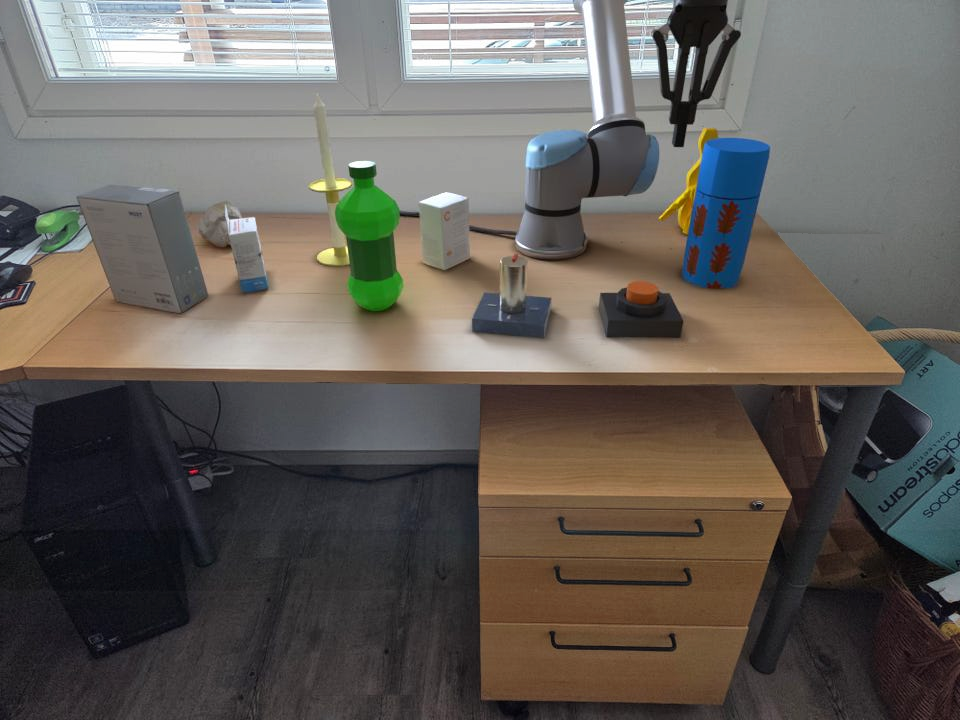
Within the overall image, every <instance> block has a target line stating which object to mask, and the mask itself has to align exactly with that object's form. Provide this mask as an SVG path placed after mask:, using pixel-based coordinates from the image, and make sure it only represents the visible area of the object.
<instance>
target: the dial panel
mask: <svg viewBox="0 0 960 720" xmlns="http://www.w3.org/2000/svg"><path fill="white" fill-rule="evenodd" d="M551 310H552V297H546V296H545V297H544V296H534V295H526V309H525V310H524V311H523V312H520V313H506V312H504V311H502V310H501V309H500V292H489V291H488V292H486V291H484V292H483V293H482V296H481V298H480V300H479V302H478V304H477V307H476V309H475V311H474V313H473V316H472V317H471V331H472V332H473V333H485V334H494V335H505V336H514V337H527V338H535V339H536V338H537V339H545V335H546V330H547V327H548V323H549V320H550V319H549V318H550V315H551Z"/></svg>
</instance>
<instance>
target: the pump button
mask: <svg viewBox="0 0 960 720" xmlns="http://www.w3.org/2000/svg"><path fill="white" fill-rule="evenodd" d="M626 287H627V293H626V299H627V300H629V301H630V302H633V303H637V304H652V303H655V302H656V301H657V296H658V291H660V290H659V286H658V285H656V284H655V283H653V282H651V281H645V280H635V281H631V282H629V283H628V284H627V286H626Z"/></svg>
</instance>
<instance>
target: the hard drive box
mask: <svg viewBox="0 0 960 720" xmlns="http://www.w3.org/2000/svg"><path fill="white" fill-rule="evenodd" d="M76 200H77V202H78V205H79V208H80V211H81V213H82V216H83V218H84V222H85V224H86V226H87V229H88V232H89V234H90V238H91V240H92V243H93V245H94V248H95V251H96V253H97V256H98V258H99V261H100V264H101V267H102V269H103V272H104V274H105V277H106V280H107V282H108V285H109V288H110V290H111V294H112V296H113V298H114V301H115V302H117V303H122V304H126V305H131V306H138V307H142V308H143V307H144V308H149V309H153V310H154V309H156V310H159V311H163V312H171V313H176V314H181V313H184V312H185V311H186V310H188V309H190V308H191V307H193V306H195V305H196V304H197V303H200V302H201V301H203V300H205V299H206V298H208V297H209V291H208V287H207V286H206V282H205V277H204V274H203V270H202V268H201V264H200V259H199V257H198V253H197V249H196V246H195V243H194V239H193V236H192V232H191V229H190V225H189V222H188V218H187V214H186V211H185V208H184V205H183V200H182V197H181V194H180V190H176V189H172V190H171V189H167V188H166V189H165V188H156V187H143V186H130V185H120V184H108V185H105V186H101V187H99V188H96V189H93V190H90V191H88V192H84V193H81V194H79V195H76Z"/></svg>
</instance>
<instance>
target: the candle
mask: <svg viewBox="0 0 960 720" xmlns="http://www.w3.org/2000/svg"><path fill="white" fill-rule="evenodd" d="M313 111H314V119H315V126H316V132H317V138H318V146H319V152H320V160H321V166H322V174H323V178H322V179H318V180H314V181H312V182H310V183H309V184H308V189H309V190H310V191H312V192H314V193H315V192H316V193H324V194H325V198H326V199H325V200H326V207H327V214H328V219H329V227H330V232H331V239H332V247H330V248H327V249H325V250H322V251H320V252H319V253H318V254H317V255H316V262H318V264H320V265H323V266H328V267H346V266H350V262H349V255H348V247H347V245H346V239H345V234H344V233H343V232H342V231H341V230H340V229H339V228H338V225H337V222H336V218H335V210H336V206H337V204H338V203H339V202H340V196H339V192H344V191H346V190H350V189H351V188H352V186H353V181H352V180H350V179H347V178H341V177H336V176H335V175H336V174H335V168H334V167H335V166H334V161H333V160H334V159H333V153H332V146H331V137H330V131H329V123H328V117H327V110H326V105H325V103H324V102H323V101H322V99H321V97H320V94H319V91H318V90H316V97H315V103H314V104H313Z"/></svg>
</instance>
